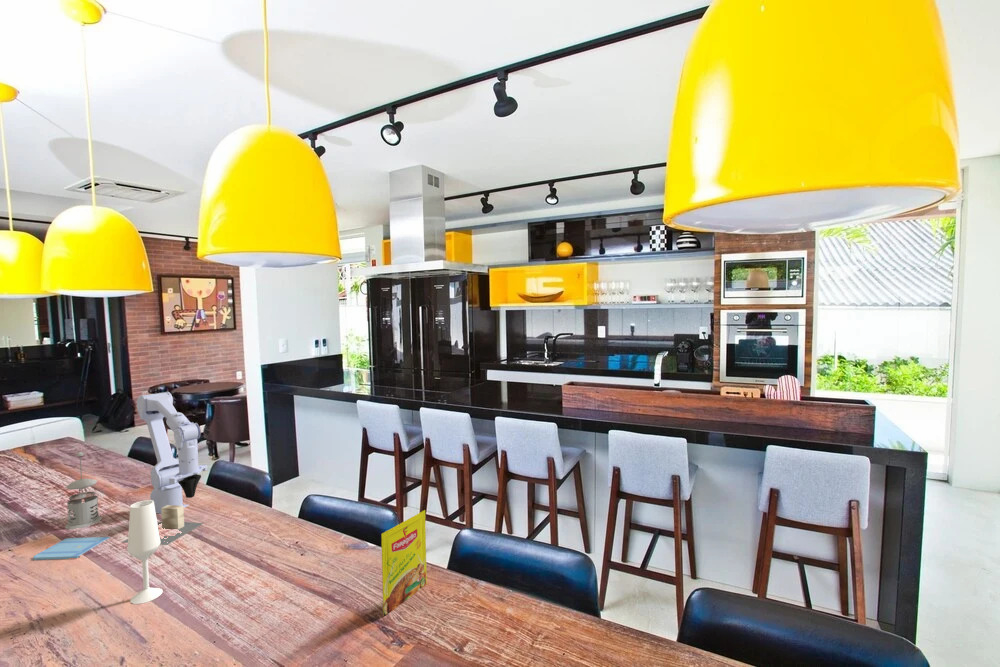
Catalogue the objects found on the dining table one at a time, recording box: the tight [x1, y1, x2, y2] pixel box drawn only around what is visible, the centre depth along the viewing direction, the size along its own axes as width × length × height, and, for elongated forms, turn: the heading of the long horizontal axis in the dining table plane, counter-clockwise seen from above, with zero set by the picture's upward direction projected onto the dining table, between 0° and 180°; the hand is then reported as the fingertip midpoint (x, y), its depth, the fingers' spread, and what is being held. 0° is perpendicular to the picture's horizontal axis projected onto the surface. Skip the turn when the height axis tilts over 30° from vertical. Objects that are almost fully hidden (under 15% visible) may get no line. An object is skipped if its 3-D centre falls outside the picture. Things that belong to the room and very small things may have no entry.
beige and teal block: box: [161, 505, 185, 529], centre depth 156 cm, size 6×3×7 cm, turn 82°
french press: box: [64, 451, 103, 530], centre depth 162 cm, size 10×12×25 cm
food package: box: [380, 509, 428, 618], centre depth 115 cm, size 15×1×20 cm, turn 148°
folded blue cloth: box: [32, 536, 110, 561], centre depth 144 cm, size 14×12×1 cm
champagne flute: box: [127, 499, 164, 605], centre depth 118 cm, size 7×7×24 cm
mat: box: [122, 520, 205, 546], centre depth 153 cm, size 16×15×1 cm
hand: (190, 497), depth 163 cm, fingers closed
